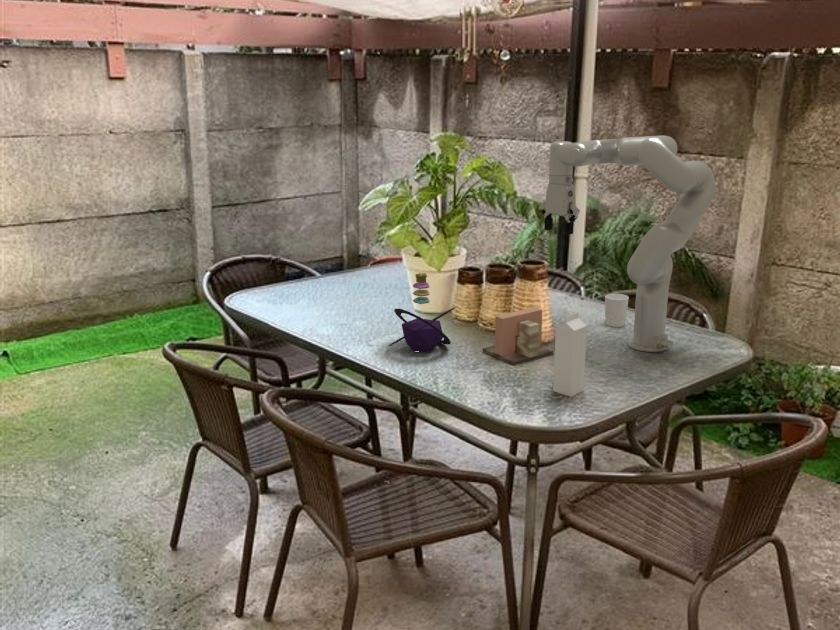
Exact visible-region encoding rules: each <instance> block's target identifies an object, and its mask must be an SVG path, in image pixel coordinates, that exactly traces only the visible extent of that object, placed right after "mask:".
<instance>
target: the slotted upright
mask: <svg viewBox="0 0 840 630" xmlns="http://www.w3.org/2000/svg"><path fill="white" fill-rule="evenodd" d="M507 313H508V312H504V313H499V314H498V315H503V314H507ZM498 315H497V316H498ZM538 340H539V324H537V323H535V322H532V321H529V320H528V321H523V322H520V334H519V335H518V336H516V343H515V353H513V354H509V355H505V356H500V355H498V354H495V344H493V345H491V346H486V347H483V348H481V349H482V350H481V351H483V352H485V353H484V354H486V353H487V354H486V355H488V354H489V356H490V355H491V357H493V358H496V359H497V358H498V360H499V361H502V362H504V363H507V364H509V365H512V366H516V365H521V364H524V363H527V362H532V361H535V360H536V361H537V360H538V359H542V358H546V357H550V356H553V355H554V350H552V349H549V348H546V347H544V346H542V345H541V346H540V347H538ZM483 352H482V353H483Z"/></svg>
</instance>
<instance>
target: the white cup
mask: <svg viewBox="0 0 840 630" xmlns="http://www.w3.org/2000/svg"><path fill="white" fill-rule="evenodd" d="M628 307H629V295H626V294H622V293H609V294H605V296H604V318H605V321H604V322H605V325H606V326H609V327H611V326H612V328H622V327H624V326H626V321H627V316H628Z"/></svg>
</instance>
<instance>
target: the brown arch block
mask: <svg viewBox="0 0 840 630" xmlns="http://www.w3.org/2000/svg"><path fill="white" fill-rule="evenodd" d="M506 313H507V314H503V313H502V314H503V315H495V320H494V321H495V322H494V329H495V330H494V333H495V334H494V345H495V354H498V355H500V356H505V355H509V354H513V353H515V343H516V336H518V335H519V334H520V322H523V321H528V320H529V321H532V322H535V323H537V324H539V340H538V347H540V346H541V347H542V331H543V329H542V325H543V309H541V308H538V307H535V306H534V307H530V308H526V309H520V310H518V311H517V310H516V311H513V312H506Z"/></svg>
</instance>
